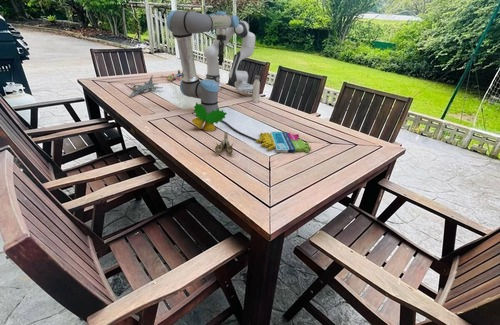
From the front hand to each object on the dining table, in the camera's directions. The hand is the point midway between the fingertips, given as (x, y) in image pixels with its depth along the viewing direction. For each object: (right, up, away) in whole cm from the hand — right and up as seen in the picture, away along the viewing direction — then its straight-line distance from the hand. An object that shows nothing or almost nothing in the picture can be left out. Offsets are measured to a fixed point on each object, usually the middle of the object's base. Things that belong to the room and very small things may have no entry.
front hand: (221, 63), depth 210 cm
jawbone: (+10, -74, -72) cm, 103 cm away
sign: (+42, -68, -58) cm, 99 cm away
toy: (-57, +10, +70) cm, 91 cm away
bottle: (+28, -27, +13) cm, 41 cm away
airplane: (-69, -17, +19) cm, 74 cm away
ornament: (-2, -58, -46) cm, 74 cm away
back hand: (+25, -19, +16) cm, 35 cm away
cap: (+29, -9, +3) cm, 31 cm away
